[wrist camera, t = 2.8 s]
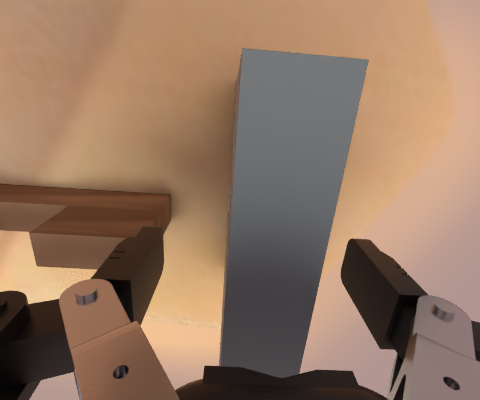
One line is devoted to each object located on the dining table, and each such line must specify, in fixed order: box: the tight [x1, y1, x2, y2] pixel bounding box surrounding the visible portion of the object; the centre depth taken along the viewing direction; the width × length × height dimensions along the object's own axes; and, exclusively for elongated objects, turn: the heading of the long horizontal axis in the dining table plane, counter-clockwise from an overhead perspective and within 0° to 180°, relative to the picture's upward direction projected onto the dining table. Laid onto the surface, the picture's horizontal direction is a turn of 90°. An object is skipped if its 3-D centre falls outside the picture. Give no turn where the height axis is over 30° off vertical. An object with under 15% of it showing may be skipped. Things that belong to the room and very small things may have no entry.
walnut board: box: [0, 184, 171, 269], centre depth 17 cm, size 2×16×6 cm, turn 86°
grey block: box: [219, 48, 368, 378], centre depth 14 cm, size 14×2×13 cm, turn 176°
